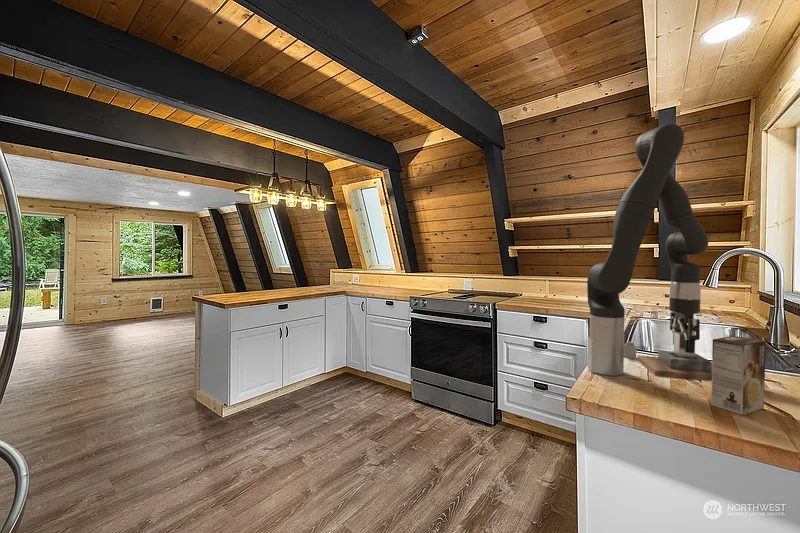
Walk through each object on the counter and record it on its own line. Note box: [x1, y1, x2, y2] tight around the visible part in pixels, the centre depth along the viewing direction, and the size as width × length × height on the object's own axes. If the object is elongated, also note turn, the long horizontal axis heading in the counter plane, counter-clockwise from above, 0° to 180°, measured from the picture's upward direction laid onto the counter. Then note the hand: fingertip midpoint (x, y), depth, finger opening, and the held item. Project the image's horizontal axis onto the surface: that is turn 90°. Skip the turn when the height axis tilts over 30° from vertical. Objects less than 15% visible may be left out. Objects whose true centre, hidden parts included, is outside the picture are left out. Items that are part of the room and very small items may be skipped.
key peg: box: [673, 332, 696, 359], centre depth 113 cm, size 4×4×10 cm
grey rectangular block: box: [624, 341, 637, 359], centre depth 129 cm, size 7×2×8 cm, turn 55°
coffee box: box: [710, 335, 767, 416], centre depth 86 cm, size 9×6×16 cm
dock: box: [636, 349, 712, 381], centre depth 114 cm, size 20×16×4 cm
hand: (683, 349), depth 113 cm, fingers open, 8 cm apart
